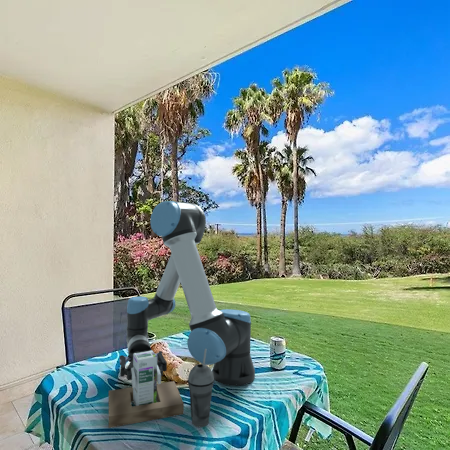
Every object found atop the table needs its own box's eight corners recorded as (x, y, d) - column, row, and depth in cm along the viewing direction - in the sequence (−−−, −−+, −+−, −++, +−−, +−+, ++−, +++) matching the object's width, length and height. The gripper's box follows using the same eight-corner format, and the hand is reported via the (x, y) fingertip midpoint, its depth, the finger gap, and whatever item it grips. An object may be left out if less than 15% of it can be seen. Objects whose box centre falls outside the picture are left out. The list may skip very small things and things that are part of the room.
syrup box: (136, 411, 94) (137, 359, 93) (132, 400, 99) (133, 352, 99) (156, 406, 96) (157, 356, 96) (151, 396, 101) (152, 349, 101)
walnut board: (174, 390, 107) (174, 381, 107) (183, 414, 94) (183, 403, 94) (108, 400, 101) (108, 390, 101) (108, 427, 88) (108, 416, 88)
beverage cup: (187, 414, 94) (188, 344, 94) (213, 413, 95) (214, 343, 94) (186, 431, 87) (187, 354, 87) (214, 429, 87) (215, 354, 87)
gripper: (167, 357, 118) (180, 389, 96) (109, 364, 111) (110, 399, 89) (167, 336, 117) (181, 363, 96) (110, 341, 111) (110, 372, 89)
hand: (146, 380), depth 93 cm, fingers closed on syrup box, 6 cm apart
